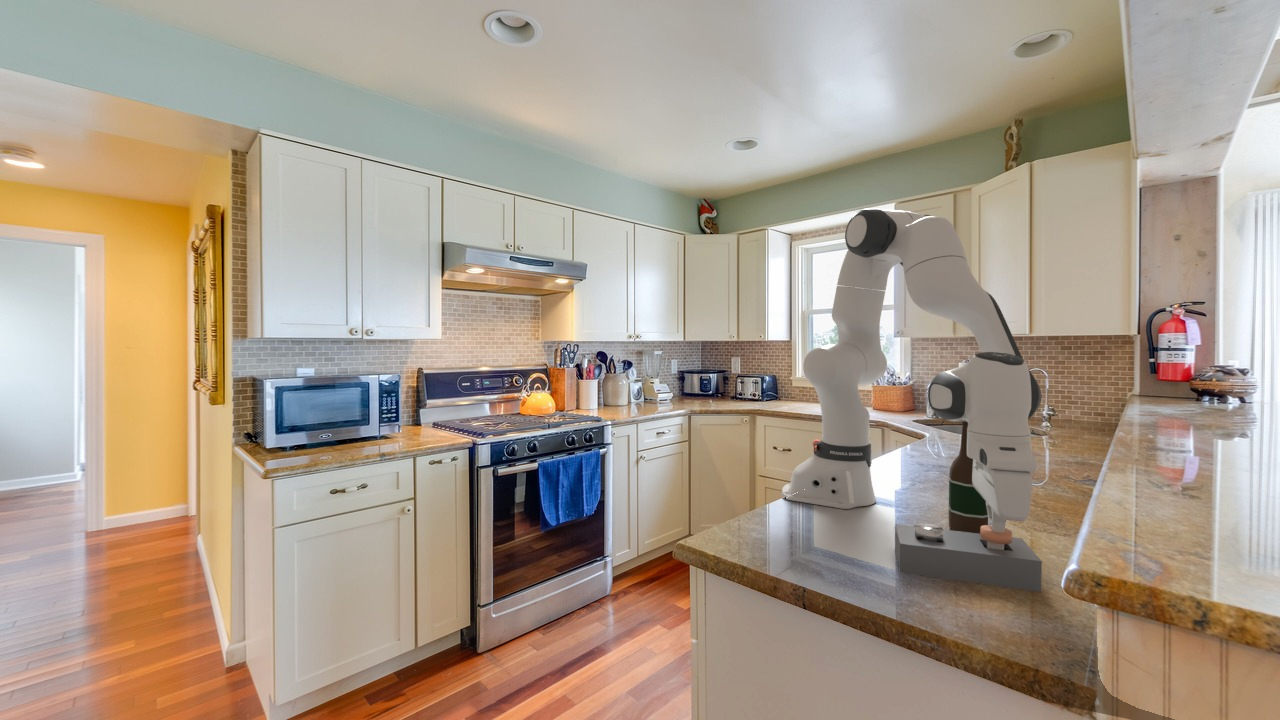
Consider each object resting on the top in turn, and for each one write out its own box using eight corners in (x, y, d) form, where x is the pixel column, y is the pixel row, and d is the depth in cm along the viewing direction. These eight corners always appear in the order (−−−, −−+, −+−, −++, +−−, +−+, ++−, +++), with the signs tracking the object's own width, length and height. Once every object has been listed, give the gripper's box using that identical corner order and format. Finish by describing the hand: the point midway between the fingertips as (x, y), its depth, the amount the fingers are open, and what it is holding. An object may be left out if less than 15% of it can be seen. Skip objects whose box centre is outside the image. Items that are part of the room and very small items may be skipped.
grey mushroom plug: (916, 564, 90) (916, 530, 90) (913, 554, 95) (913, 522, 94) (944, 568, 89) (945, 533, 89) (940, 558, 93) (941, 525, 93)
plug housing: (899, 572, 89) (900, 543, 89) (894, 550, 98) (895, 524, 98) (1041, 592, 81) (1041, 561, 81) (1021, 566, 91) (1021, 538, 91)
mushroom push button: (983, 568, 87) (983, 532, 86) (977, 558, 91) (977, 523, 91) (1014, 572, 85) (1015, 536, 85) (1007, 561, 89) (1007, 527, 89)
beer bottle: (996, 532, 107) (998, 417, 106) (987, 543, 101) (989, 421, 100) (953, 523, 112) (955, 413, 111) (943, 533, 106) (944, 417, 106)
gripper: (963, 436, 98) (962, 508, 98) (990, 460, 79) (989, 549, 79) (1002, 438, 96) (1001, 512, 96) (1041, 463, 77) (1039, 555, 77)
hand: (996, 529), depth 88 cm, fingers closed, pressing on mushroom push button
